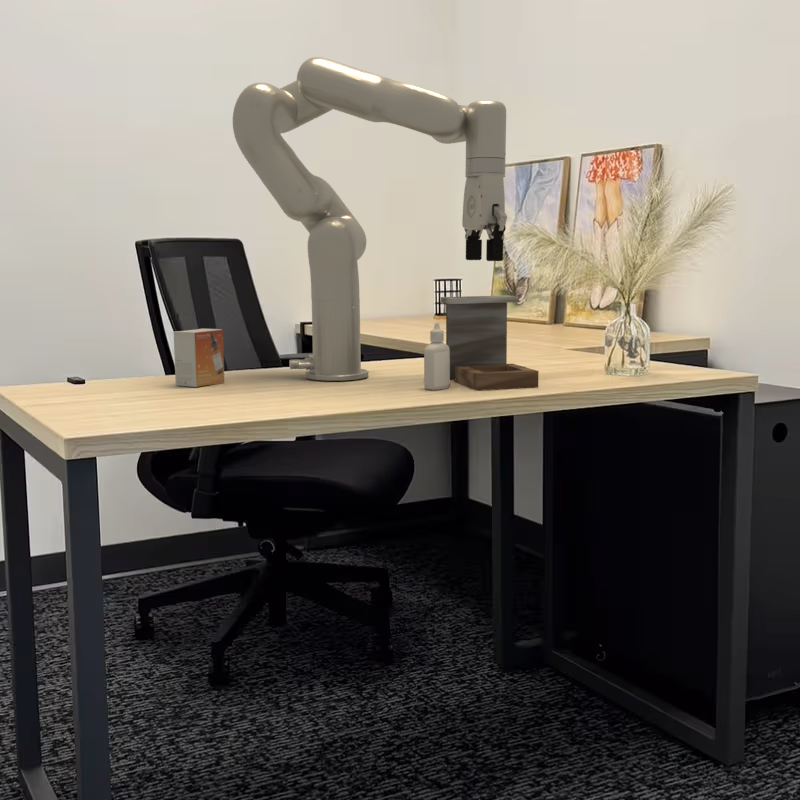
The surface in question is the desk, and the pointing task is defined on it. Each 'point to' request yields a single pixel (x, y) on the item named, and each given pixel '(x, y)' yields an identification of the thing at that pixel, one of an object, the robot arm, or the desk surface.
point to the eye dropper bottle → (436, 361)
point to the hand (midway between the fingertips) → (483, 260)
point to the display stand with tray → (482, 344)
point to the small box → (199, 357)
